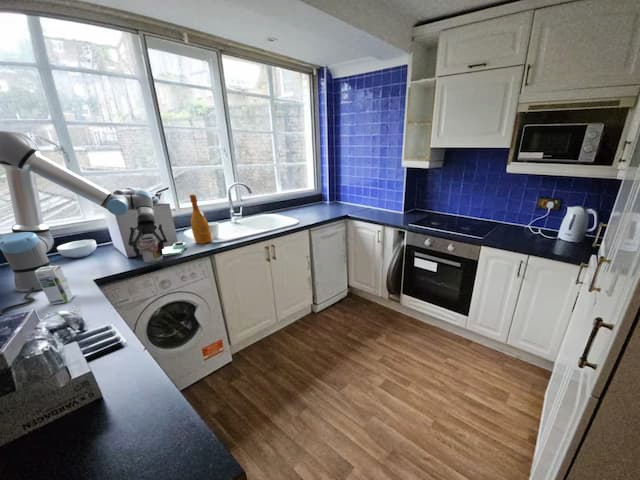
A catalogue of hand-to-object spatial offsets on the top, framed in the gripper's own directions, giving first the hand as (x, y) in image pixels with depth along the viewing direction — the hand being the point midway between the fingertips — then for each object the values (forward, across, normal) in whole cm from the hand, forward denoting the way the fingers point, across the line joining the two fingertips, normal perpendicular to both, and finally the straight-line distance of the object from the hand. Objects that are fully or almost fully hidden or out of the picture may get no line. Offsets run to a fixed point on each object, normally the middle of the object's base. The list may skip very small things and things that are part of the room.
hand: (149, 256), depth 146 cm
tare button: (-18, -10, -24) cm, 31 cm away
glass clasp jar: (+1, 0, -5) cm, 5 cm away
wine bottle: (-21, -23, -31) cm, 44 cm away
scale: (-13, -6, -23) cm, 27 cm away
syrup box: (+20, +29, +10) cm, 37 cm away
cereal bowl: (-27, +42, -37) cm, 62 cm away
